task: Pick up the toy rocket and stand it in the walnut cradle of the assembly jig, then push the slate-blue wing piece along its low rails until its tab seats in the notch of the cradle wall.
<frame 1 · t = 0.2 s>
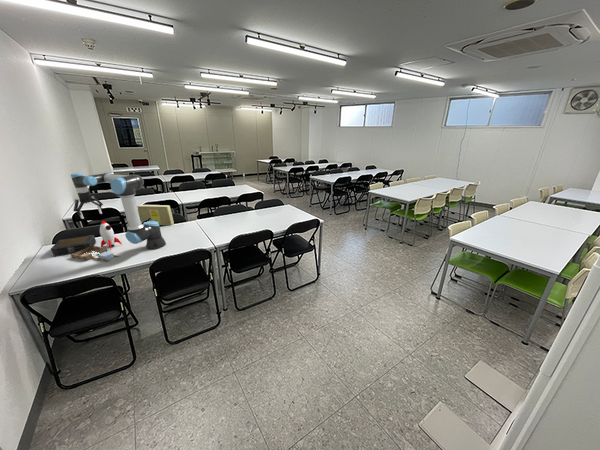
hand: (92, 216, 202), 28 cm above the table, fingers open, 13 cm apart
cash box: (76, 249, 207), on the table
jig: (90, 254, 197), on the table
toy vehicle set: (158, 224, 261), on the table
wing: (106, 255, 191), point 2 cm above the table, slide at 0.0 cm
rocket: (111, 247, 211), on the table
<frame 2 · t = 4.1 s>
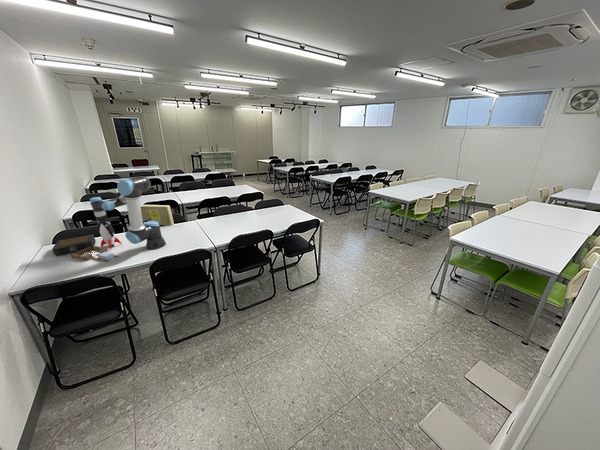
hand: (109, 239, 208), 7 cm above the table, fingers closed on rocket, 9 cm apart
rocket: (111, 247, 210), on the table, touching gripper
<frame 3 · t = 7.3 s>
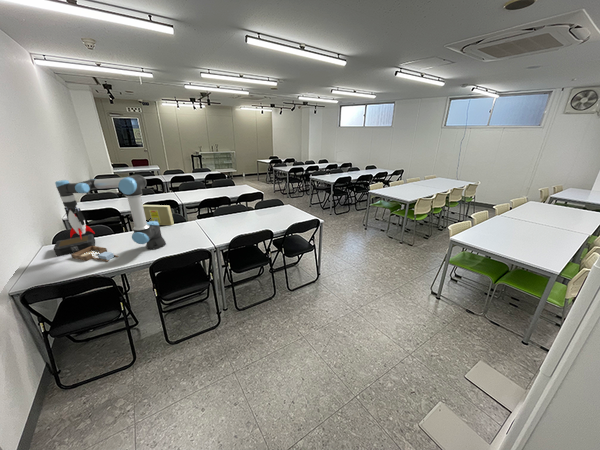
hand: (79, 227, 188), 25 cm above the table, fingers closed on rocket, 9 cm apart
rocket: (83, 236, 191), point 17 cm above the table, touching gripper
when the fingers open (9 cm above the table, at t = 10.4 s): rocket drops 2 cm, resting on jig.
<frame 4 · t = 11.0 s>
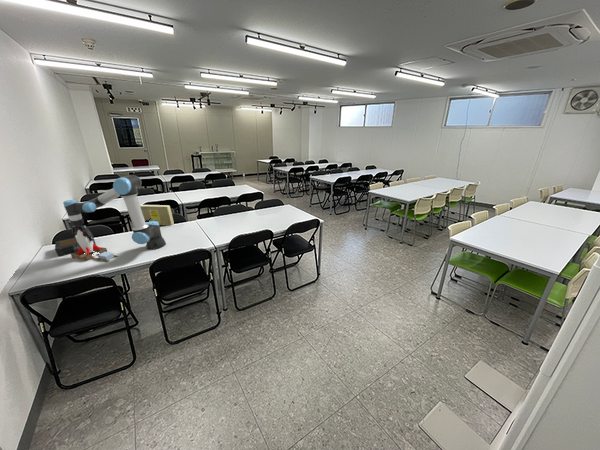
hand: (85, 243, 193), 11 cm above the table, fingers open, 13 cm apart
rocket: (90, 254, 197), resting on jig
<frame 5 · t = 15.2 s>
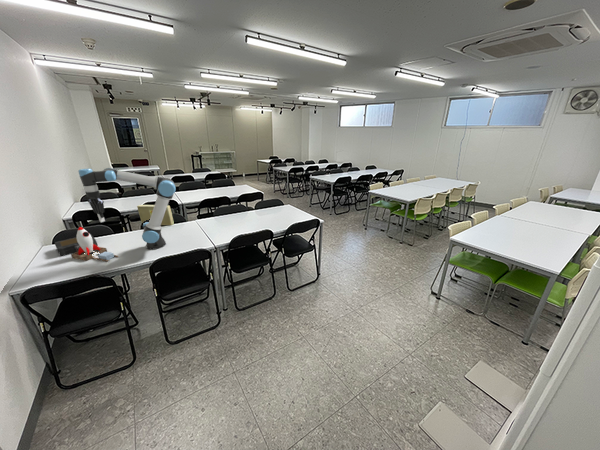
hand: (102, 221, 177), 33 cm above the table, fingers closed
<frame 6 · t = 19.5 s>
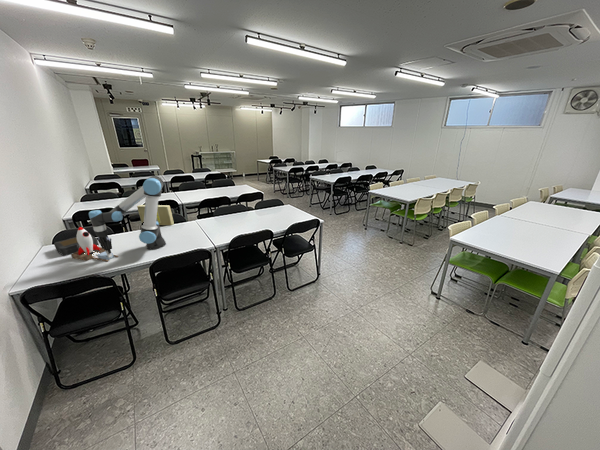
hand: (110, 256, 190), 2 cm above the table, fingers closed
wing: (105, 255, 191), point 2 cm above the table, slide at 0.7 cm, touching gripper
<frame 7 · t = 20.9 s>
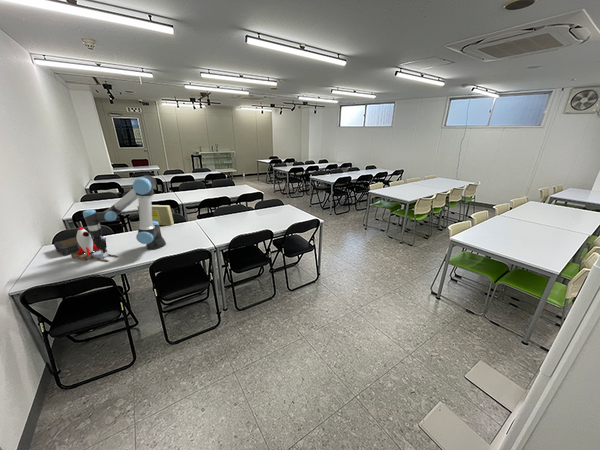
hand: (104, 255, 192), 2 cm above the table, fingers closed
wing: (100, 254, 193), point 2 cm above the table, slide at 6.7 cm, touching gripper
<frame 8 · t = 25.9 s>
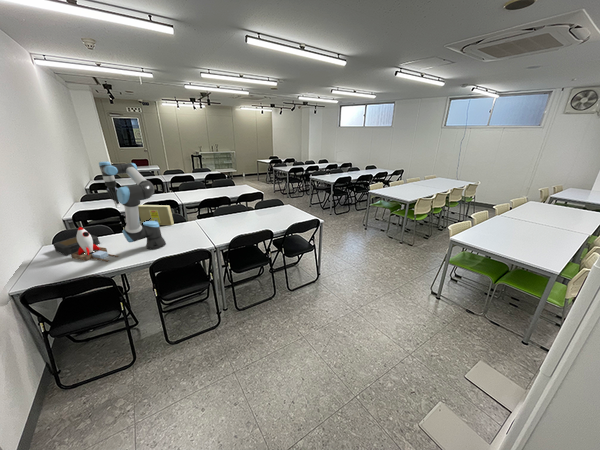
hand: (118, 207, 205), 34 cm above the table, fingers closed
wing: (100, 254, 193), point 2 cm above the table, slide at 6.7 cm
at the end: rocket 0.4 cm from the jig (horizontally); rocket tilted 0°; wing slide at 6.7 cm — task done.
